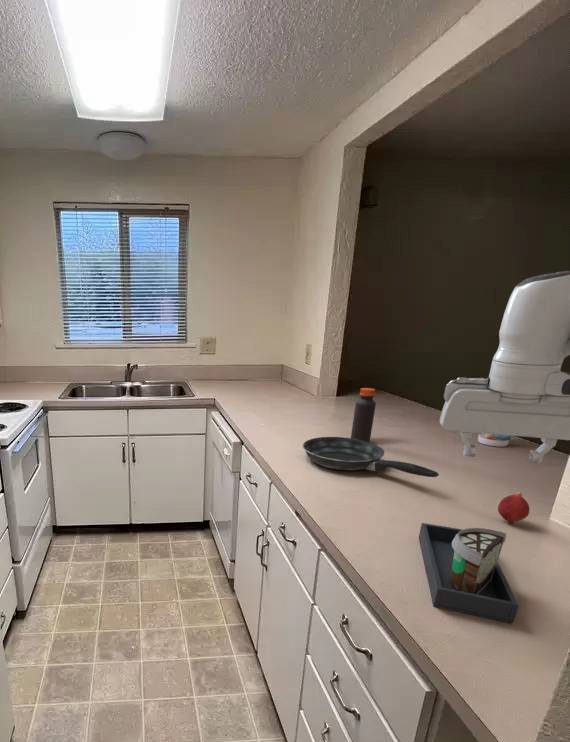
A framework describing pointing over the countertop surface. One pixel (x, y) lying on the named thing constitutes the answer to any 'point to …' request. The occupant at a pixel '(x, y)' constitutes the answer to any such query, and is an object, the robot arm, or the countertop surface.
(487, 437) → the fruit juice
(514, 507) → the onion
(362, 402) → the bottle
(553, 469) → the countertop surface
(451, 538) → the dark blue tray
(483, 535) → the food container
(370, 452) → the frying pan
